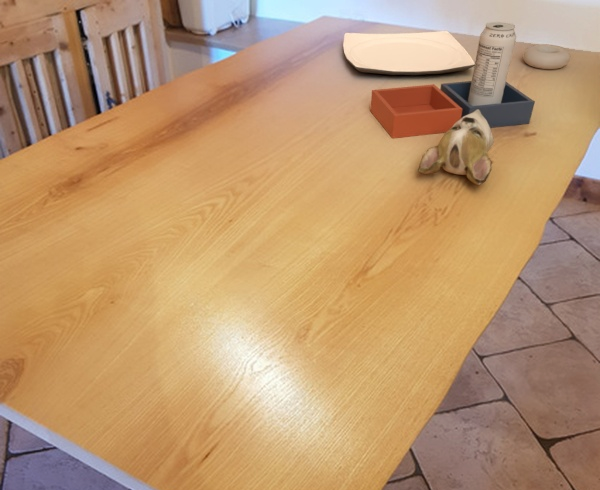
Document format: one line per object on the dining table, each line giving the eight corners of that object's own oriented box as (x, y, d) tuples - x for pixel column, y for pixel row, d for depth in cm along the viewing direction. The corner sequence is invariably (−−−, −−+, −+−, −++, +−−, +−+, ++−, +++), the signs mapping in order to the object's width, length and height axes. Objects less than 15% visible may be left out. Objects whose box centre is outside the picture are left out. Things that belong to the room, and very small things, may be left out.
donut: (512, 63, 127) (550, 74, 121) (515, 47, 125) (554, 57, 118) (539, 55, 131) (576, 65, 125) (542, 39, 129) (581, 49, 123)
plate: (350, 82, 118) (350, 69, 117) (338, 42, 140) (338, 31, 138) (481, 79, 119) (483, 66, 117) (449, 40, 140) (451, 29, 139)
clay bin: (458, 131, 99) (462, 108, 96) (392, 138, 97) (394, 115, 94) (431, 105, 108) (434, 84, 105) (370, 111, 106) (371, 89, 104)
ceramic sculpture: (514, 104, 85) (492, 148, 75) (503, 155, 91) (480, 201, 81) (447, 94, 89) (417, 135, 79) (440, 143, 95) (412, 186, 85)
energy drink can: (505, 112, 103) (526, 26, 94) (482, 119, 101) (500, 32, 91) (482, 102, 107) (500, 18, 98) (459, 108, 105) (474, 23, 95)
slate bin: (529, 123, 101) (535, 101, 98) (465, 130, 99) (470, 108, 96) (496, 98, 110) (501, 78, 108) (437, 104, 108) (441, 83, 106)
